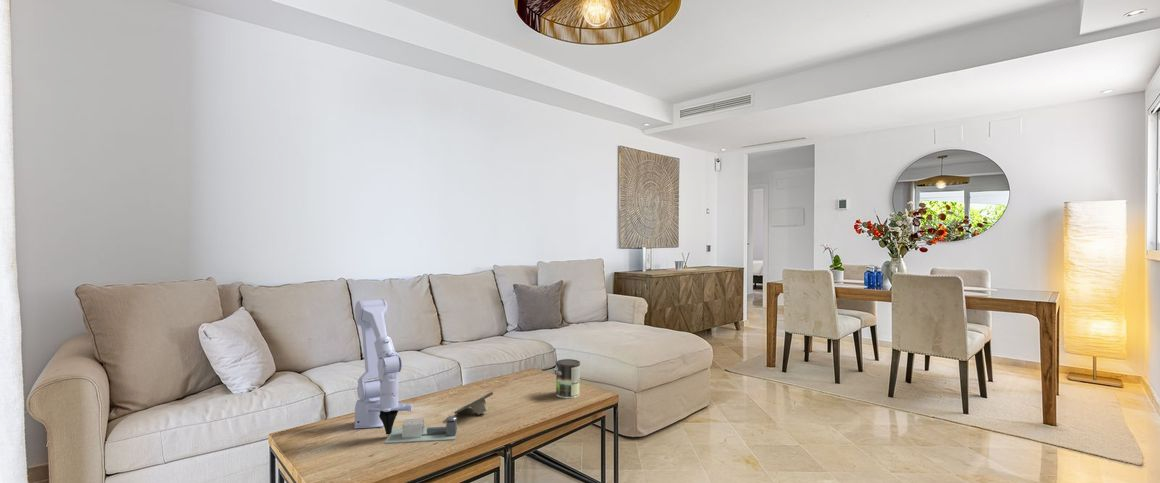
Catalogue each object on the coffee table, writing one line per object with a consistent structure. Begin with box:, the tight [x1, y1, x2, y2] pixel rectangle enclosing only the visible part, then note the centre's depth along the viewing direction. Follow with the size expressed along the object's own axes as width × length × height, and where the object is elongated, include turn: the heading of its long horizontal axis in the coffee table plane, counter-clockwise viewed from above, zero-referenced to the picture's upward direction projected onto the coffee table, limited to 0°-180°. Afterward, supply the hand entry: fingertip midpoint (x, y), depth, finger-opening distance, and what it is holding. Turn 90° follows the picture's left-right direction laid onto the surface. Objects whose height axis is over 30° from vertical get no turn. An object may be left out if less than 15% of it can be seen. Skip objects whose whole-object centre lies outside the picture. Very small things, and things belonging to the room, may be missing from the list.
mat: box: [384, 424, 459, 445], centre depth 163 cm, size 22×12×1 cm, turn 99°
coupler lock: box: [401, 418, 425, 439], centre depth 161 cm, size 6×5×4 cm
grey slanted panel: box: [448, 391, 494, 416], centre depth 182 cm, size 16×9×15 cm
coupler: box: [427, 415, 458, 436], centre depth 163 cm, size 10×5×5 cm, turn 99°
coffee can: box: [555, 358, 581, 399], centre depth 207 cm, size 10×10×14 cm
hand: (388, 433), depth 160 cm, fingers closed
